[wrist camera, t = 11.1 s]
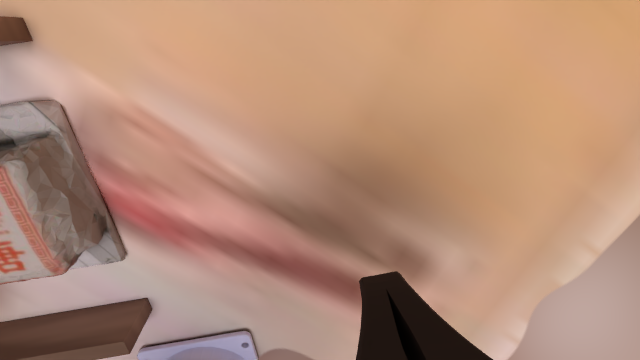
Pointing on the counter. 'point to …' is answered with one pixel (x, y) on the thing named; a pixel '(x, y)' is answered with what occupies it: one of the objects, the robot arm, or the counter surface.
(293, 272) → the counter surface
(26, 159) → the packaged product
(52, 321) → the box
